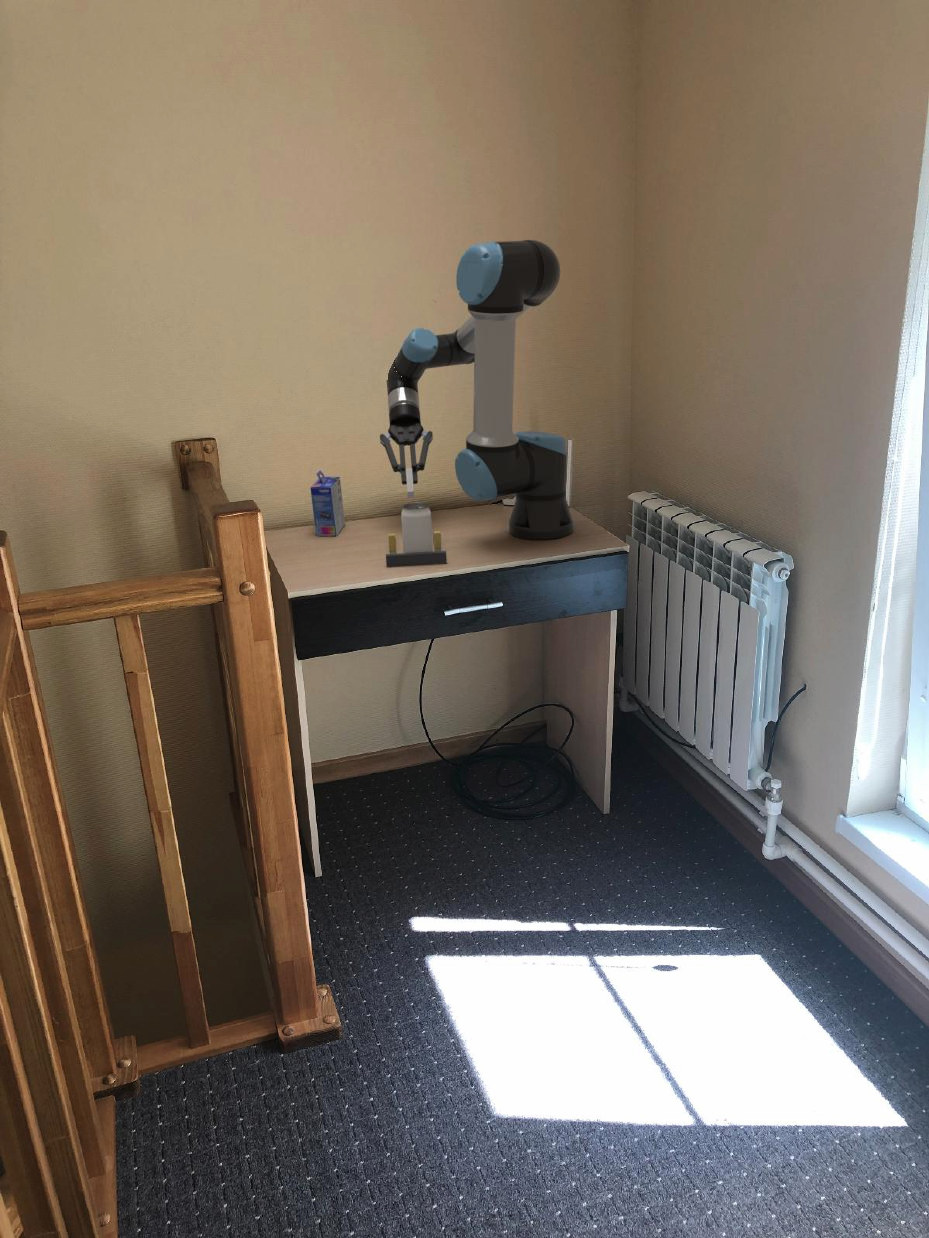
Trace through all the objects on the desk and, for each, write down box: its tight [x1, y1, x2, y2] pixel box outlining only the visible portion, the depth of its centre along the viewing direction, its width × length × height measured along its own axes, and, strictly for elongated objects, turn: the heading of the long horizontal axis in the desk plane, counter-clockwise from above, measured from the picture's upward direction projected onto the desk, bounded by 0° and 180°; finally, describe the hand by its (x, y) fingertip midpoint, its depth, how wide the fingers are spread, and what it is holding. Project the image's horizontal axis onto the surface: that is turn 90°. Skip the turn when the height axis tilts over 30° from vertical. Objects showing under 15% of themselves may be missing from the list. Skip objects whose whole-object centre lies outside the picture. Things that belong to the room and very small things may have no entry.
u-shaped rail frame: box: [385, 530, 448, 568], centre depth 229 cm, size 13×19×5 cm
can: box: [400, 502, 434, 553], centre depth 223 cm, size 6×6×12 cm
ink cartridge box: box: [309, 470, 346, 537], centre depth 246 cm, size 10×6×14 cm, turn 174°
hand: (410, 494), depth 239 cm, fingers closed
